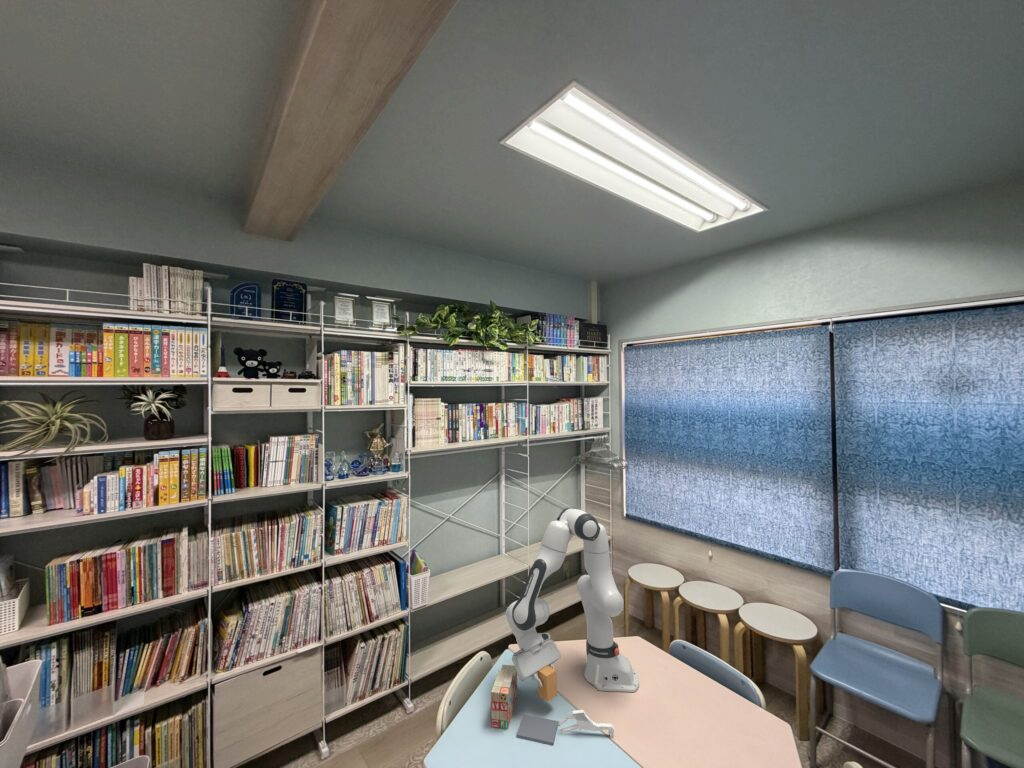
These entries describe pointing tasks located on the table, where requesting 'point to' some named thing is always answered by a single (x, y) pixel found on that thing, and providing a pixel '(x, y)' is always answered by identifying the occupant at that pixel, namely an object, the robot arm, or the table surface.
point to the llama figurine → (585, 723)
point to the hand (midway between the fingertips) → (548, 682)
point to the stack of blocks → (503, 697)
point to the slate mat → (537, 729)
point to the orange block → (547, 683)
